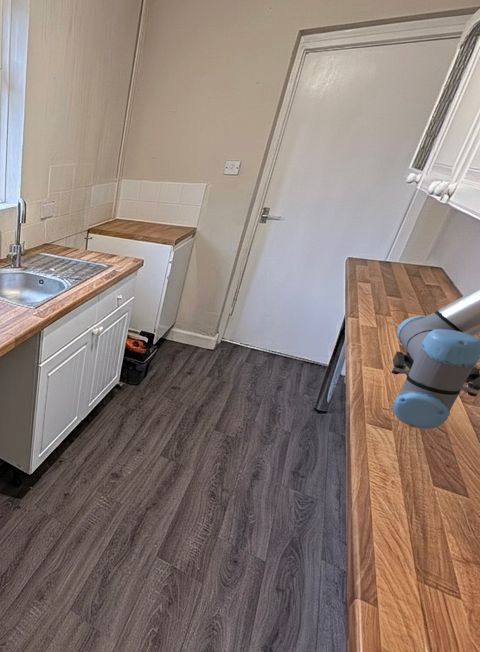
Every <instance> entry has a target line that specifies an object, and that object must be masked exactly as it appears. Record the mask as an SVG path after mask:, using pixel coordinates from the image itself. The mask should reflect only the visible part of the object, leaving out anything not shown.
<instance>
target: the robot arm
mask: <svg viewBox="0 0 480 652" xmlns="http://www.w3.org/2000/svg"><path fill="white" fill-rule="evenodd" d="M396 332H397V337H398V340H399V343H400V344H401V346H402V347H403V348H404V349H405V350H406V351H407V352H406V354H405V353H404V352H401V351H395V354H394V356H393V359H392V365H393V367H392V370H391V374H393V375H406V377H405V380H404V381H403V384H402V386H401V388H400V390H399V392H398V394H397V395H396V396H395V398H394V401H393V406H392V411H393V414H394V416H395V417H396V418H397V420H399V422H401V423H403V424H405V425H406V426H409V427H411V428H415V429H419V430H431V429H436V428H438V427H440V426H442V425H443V424H444V423H445V422H446V421H447V420H448V418H449V416H450V415H451V412H450V411H451V409H452V408H453V406H454V404H455V402H456V401H457V398H458V397H459V395H460V392H461V391H463V392H464V393H467V395H468V396H471V397H473V398H474V397H475V398H476V397H477V396H478V394H479V392H480V368H477V367H475V366H476V364H477V363H478V362H479V360H480V338H479V337H477V336H478V334H480V287H478V288H476V289H474V290H472V291H471V292H469V293H467V294H465V295H463V296H461V297H460V298H458V299H455V300H454V301H452V302H450V303H449V304H446V305H445V306H443V307H441V308H440V309H438V310H436V311H434V312H432V313H430V314H428V315H416V316H411V317H409V318H406V319H405V320H403V321H402V322H401V323H400V324H399V325H398V327H397V331H396ZM476 335H477V336H476ZM406 366H407V367H408V368H409V369H410V370H408V369H407V368H406Z"/></svg>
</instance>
